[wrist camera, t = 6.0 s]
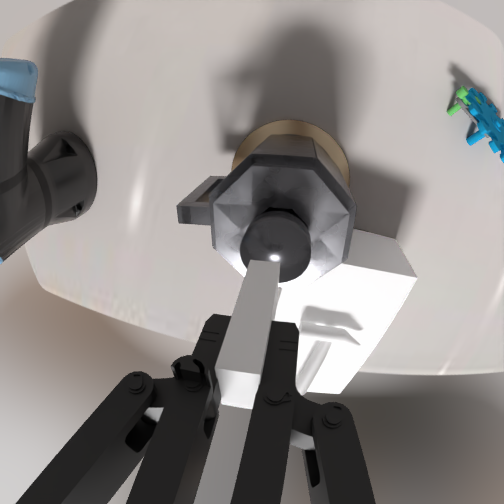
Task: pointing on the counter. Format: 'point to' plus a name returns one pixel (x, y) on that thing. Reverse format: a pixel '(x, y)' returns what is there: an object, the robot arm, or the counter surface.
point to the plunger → (278, 242)
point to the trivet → (297, 129)
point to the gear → (481, 118)
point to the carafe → (278, 202)
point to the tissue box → (346, 311)
